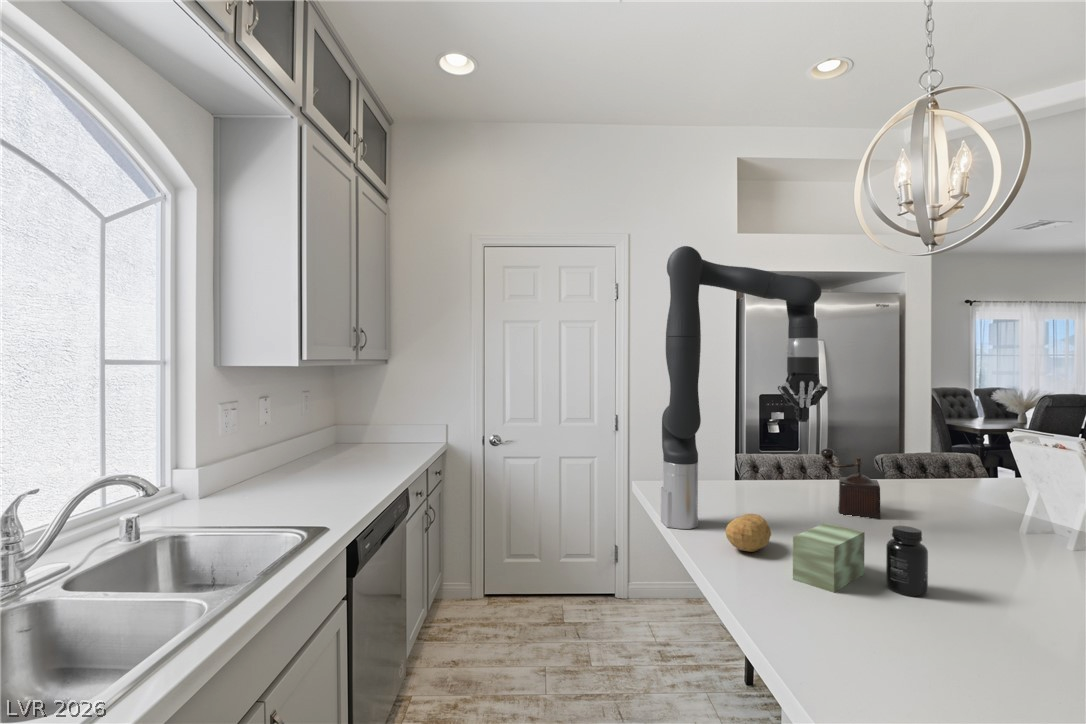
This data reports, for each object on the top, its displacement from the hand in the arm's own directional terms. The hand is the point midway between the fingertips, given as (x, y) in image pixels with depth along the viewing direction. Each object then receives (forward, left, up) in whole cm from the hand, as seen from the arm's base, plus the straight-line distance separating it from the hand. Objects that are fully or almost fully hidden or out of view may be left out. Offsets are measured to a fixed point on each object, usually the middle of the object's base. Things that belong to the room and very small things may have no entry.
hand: (802, 421), depth 142 cm
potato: (-20, -12, -29) cm, 37 cm away
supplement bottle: (+1, -36, -29) cm, 47 cm away
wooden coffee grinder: (+25, +18, -29) cm, 43 cm away
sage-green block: (-11, -29, -29) cm, 42 cm away
